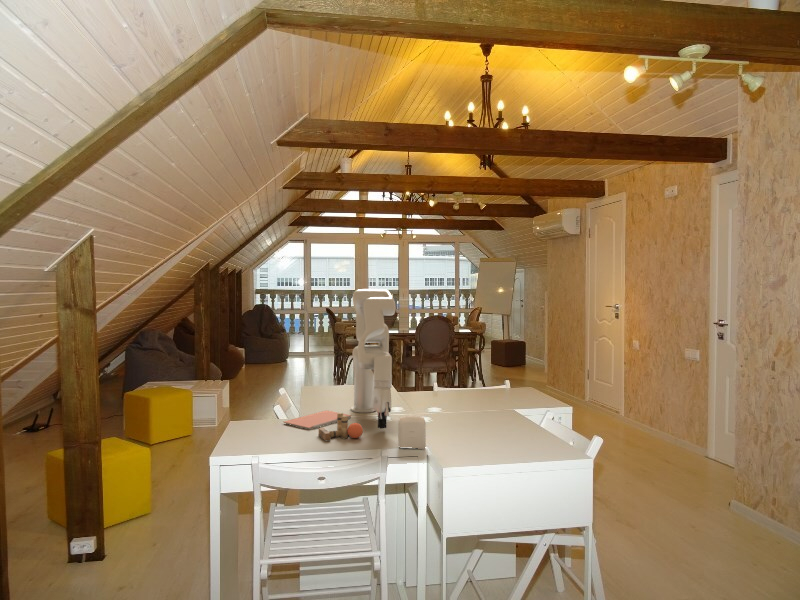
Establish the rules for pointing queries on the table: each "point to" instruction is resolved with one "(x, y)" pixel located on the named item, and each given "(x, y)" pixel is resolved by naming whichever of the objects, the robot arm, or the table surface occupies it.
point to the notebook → (315, 419)
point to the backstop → (324, 433)
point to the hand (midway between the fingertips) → (382, 427)
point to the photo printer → (412, 432)
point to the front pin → (335, 433)
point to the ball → (355, 430)
